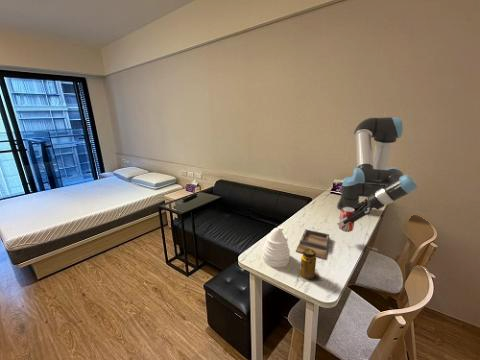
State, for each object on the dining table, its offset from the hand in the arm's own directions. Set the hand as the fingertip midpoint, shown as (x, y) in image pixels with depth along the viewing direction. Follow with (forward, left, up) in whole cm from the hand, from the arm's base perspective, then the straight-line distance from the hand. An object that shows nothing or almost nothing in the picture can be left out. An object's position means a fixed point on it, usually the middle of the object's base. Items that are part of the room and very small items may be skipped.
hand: (339, 221), depth 119 cm
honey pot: (+30, -25, -12) cm, 40 cm away
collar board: (+10, -11, -12) cm, 19 cm away
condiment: (+34, -8, -12) cm, 37 cm away
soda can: (0, +4, -4) cm, 5 cm away
